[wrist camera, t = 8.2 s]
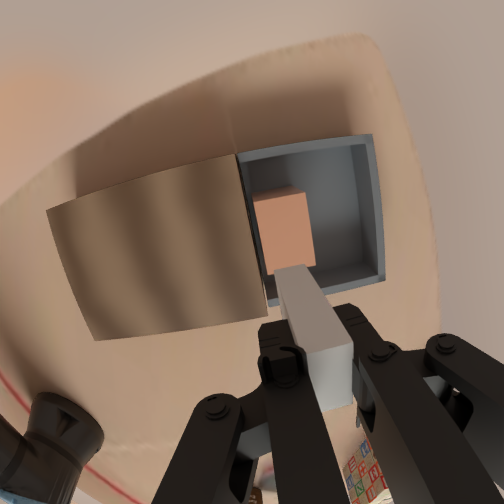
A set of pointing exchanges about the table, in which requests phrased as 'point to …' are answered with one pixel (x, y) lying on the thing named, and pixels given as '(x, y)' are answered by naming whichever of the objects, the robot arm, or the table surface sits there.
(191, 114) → the table surface
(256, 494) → the utensil holder
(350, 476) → the stack of blocks
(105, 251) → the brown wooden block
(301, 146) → the box
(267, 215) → the salmon orange block
